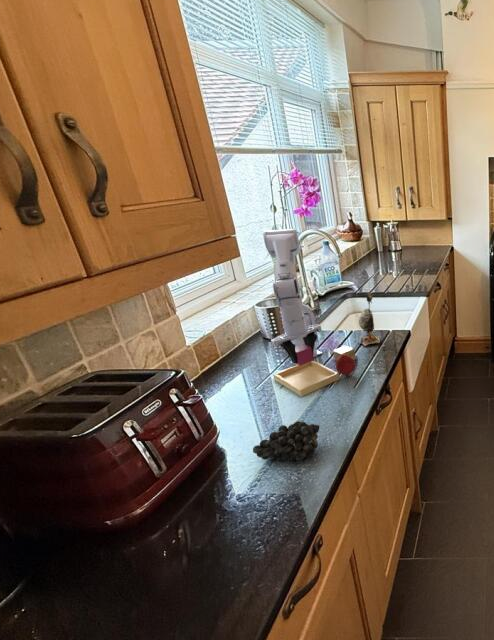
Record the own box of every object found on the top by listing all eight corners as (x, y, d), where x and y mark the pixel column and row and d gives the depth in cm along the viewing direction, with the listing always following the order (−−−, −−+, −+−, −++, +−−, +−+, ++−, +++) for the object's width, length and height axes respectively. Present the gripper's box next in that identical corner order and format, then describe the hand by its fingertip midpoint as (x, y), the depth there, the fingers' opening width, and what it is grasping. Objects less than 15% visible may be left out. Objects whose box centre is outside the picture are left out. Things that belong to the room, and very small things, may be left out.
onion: (359, 371, 131) (356, 349, 128) (352, 380, 126) (348, 357, 123) (342, 370, 132) (338, 348, 129) (334, 379, 126) (330, 357, 123)
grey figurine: (379, 333, 160) (372, 285, 152) (381, 345, 150) (374, 294, 142) (358, 336, 157) (350, 288, 150) (358, 348, 147) (350, 296, 140)
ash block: (334, 360, 139) (332, 350, 137) (347, 355, 142) (345, 345, 141) (343, 364, 136) (341, 354, 134) (355, 359, 140) (354, 348, 138)
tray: (274, 380, 127) (273, 374, 126) (312, 364, 136) (310, 359, 136) (301, 396, 118) (300, 390, 117) (339, 378, 127) (338, 373, 126)
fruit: (240, 432, 87) (311, 425, 89) (259, 421, 96) (324, 414, 97) (244, 471, 88) (315, 463, 89) (263, 456, 96) (327, 449, 97)
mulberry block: (292, 362, 124) (289, 348, 123) (306, 356, 127) (303, 343, 126) (300, 365, 122) (297, 352, 120) (314, 360, 125) (311, 347, 123)
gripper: (275, 329, 112) (285, 372, 117) (323, 314, 122) (331, 354, 127) (263, 324, 116) (274, 365, 121) (311, 309, 126) (319, 348, 131)
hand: (302, 359), depth 124 cm, fingers closed on mulberry block, 4 cm apart
